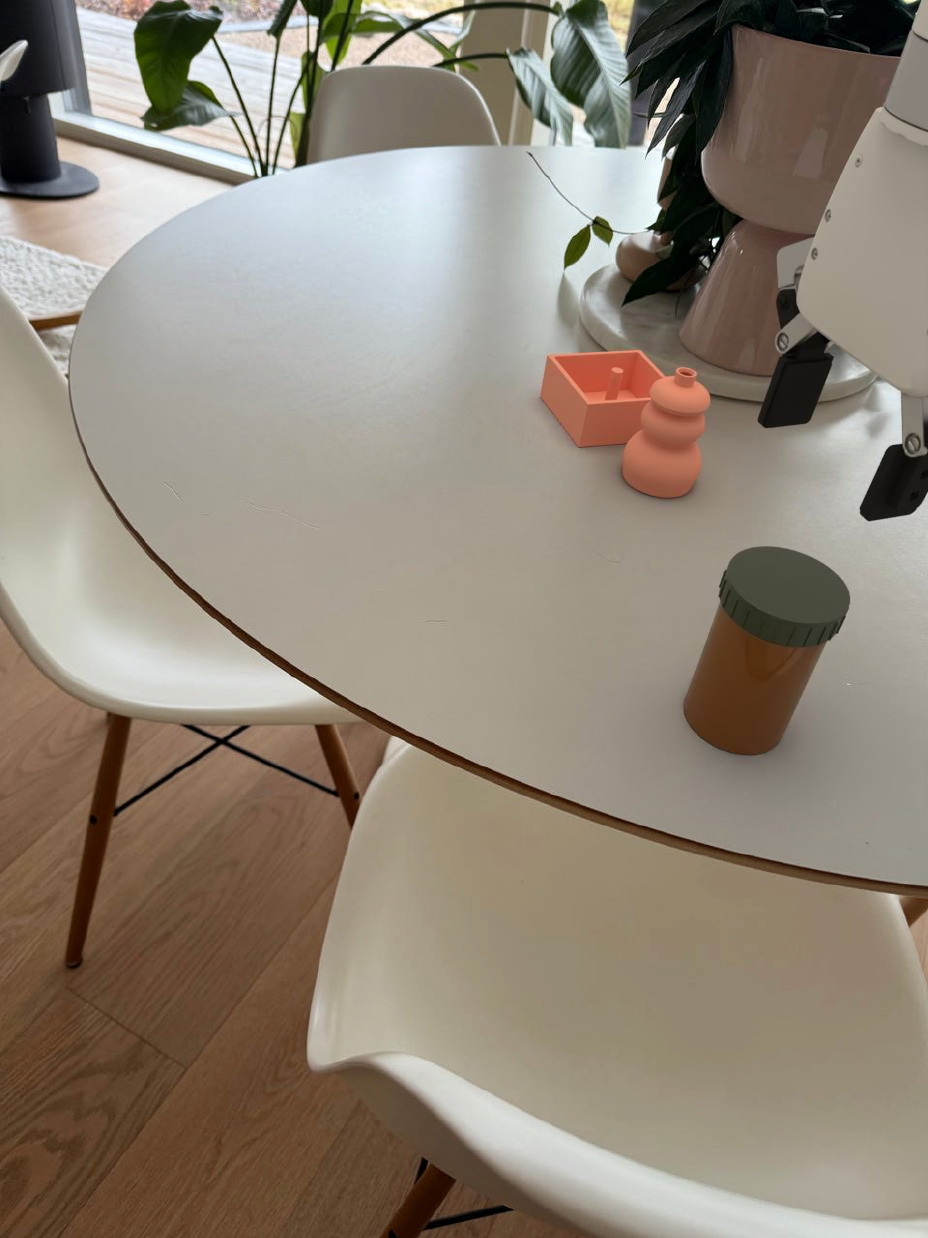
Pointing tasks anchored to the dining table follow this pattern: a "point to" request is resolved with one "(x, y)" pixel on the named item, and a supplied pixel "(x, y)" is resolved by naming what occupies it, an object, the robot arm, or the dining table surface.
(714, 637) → the jar
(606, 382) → the pottery
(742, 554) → the lid
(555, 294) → the dining table surface
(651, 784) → the dining table surface
